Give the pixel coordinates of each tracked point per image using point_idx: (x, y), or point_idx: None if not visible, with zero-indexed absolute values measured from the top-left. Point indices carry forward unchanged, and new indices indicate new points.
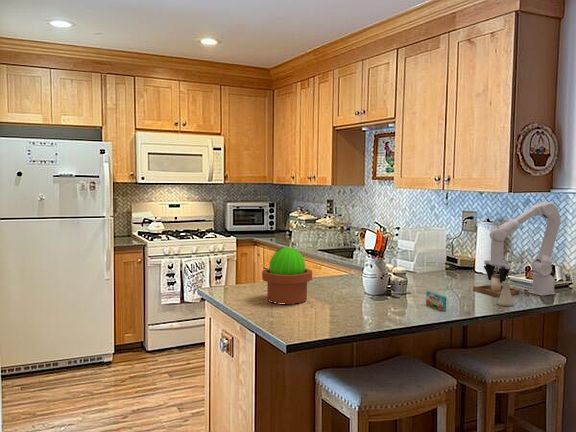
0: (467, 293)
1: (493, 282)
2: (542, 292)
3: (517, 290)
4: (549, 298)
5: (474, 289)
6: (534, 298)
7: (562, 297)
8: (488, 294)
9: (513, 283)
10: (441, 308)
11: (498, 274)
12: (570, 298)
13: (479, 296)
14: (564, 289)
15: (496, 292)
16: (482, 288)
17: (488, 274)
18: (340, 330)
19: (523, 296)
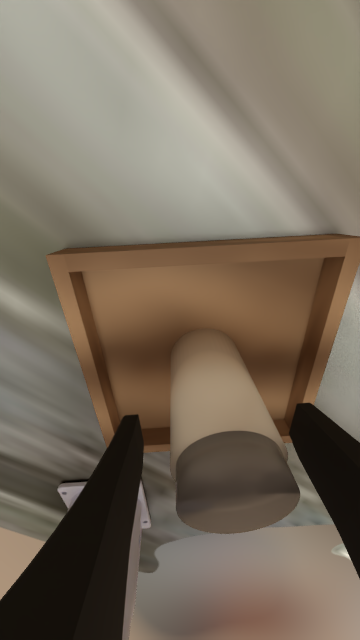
0: (292, 49)
1: (206, 381)
2: (69, 506)
3: (106, 444)
4: (8, 482)
5: (331, 235)
6: (8, 437)
7: (27, 518)
8: (150, 245)
9: (308, 513)
10: None
11: (243, 529)
12: (7, 527)
13: (116, 87)
14: (149, 564)
15: (58, 272)
16: (310, 323)
17: (353, 461)
18: None
19: (62, 420)
